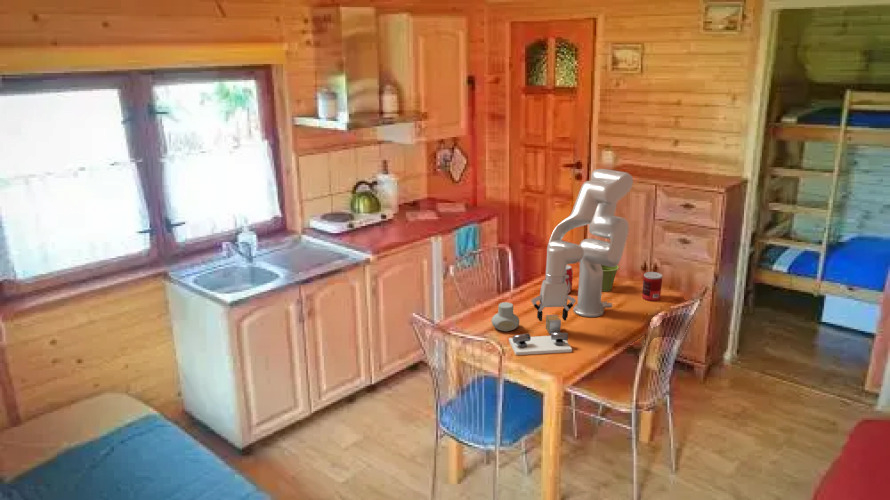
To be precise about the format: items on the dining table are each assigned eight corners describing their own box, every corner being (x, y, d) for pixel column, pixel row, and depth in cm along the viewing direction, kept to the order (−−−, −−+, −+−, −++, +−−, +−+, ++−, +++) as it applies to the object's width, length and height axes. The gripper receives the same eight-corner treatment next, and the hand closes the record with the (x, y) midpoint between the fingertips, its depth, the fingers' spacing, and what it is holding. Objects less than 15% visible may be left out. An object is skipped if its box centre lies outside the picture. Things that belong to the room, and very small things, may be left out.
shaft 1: (526, 341, 252) (526, 331, 251) (531, 346, 248) (531, 336, 247) (511, 343, 250) (511, 333, 249) (516, 348, 246) (516, 338, 245)
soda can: (572, 294, 300) (574, 269, 296) (556, 294, 300) (558, 269, 296) (570, 289, 306) (571, 264, 303) (554, 289, 307) (556, 264, 303)
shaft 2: (566, 340, 253) (567, 330, 251) (567, 346, 248) (568, 335, 247) (550, 340, 253) (551, 330, 252) (551, 345, 249) (551, 335, 248)
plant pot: (585, 289, 307) (586, 265, 303) (600, 282, 314) (602, 259, 311) (607, 296, 298) (608, 272, 295) (622, 289, 306) (624, 266, 302)
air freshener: (517, 323, 270) (518, 300, 267) (520, 332, 263) (521, 308, 259) (490, 324, 270) (491, 301, 267) (492, 332, 262) (493, 309, 259)
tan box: (545, 328, 266) (546, 315, 264) (556, 327, 267) (557, 314, 265) (549, 334, 261) (550, 321, 259) (560, 333, 261) (561, 320, 259)
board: (562, 337, 258) (562, 335, 257) (571, 352, 246) (571, 349, 246) (508, 340, 255) (508, 337, 255) (515, 355, 244) (515, 352, 244)
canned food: (662, 297, 297) (664, 273, 294) (657, 302, 291) (659, 279, 287) (644, 293, 301) (647, 270, 298) (639, 299, 295) (641, 275, 291)
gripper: (574, 274, 261) (570, 315, 266) (530, 275, 259) (528, 316, 264) (580, 280, 254) (576, 322, 259) (535, 281, 252) (532, 323, 257)
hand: (552, 319), depth 261 cm, fingers open, 9 cm apart
